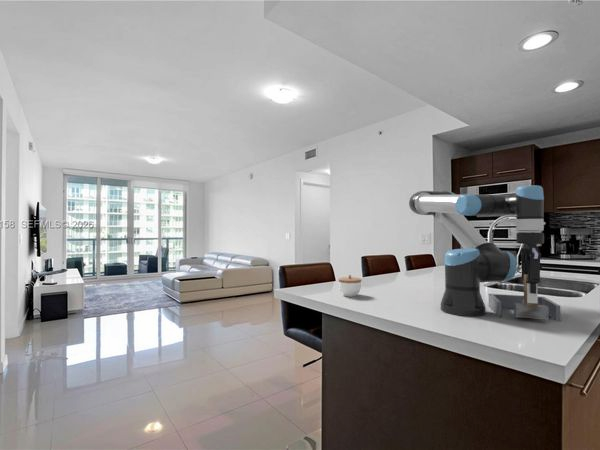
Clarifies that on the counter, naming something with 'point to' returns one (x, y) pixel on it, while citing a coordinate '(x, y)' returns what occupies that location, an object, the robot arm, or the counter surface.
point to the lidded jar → (350, 285)
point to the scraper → (530, 307)
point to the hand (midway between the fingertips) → (530, 301)
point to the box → (508, 302)
